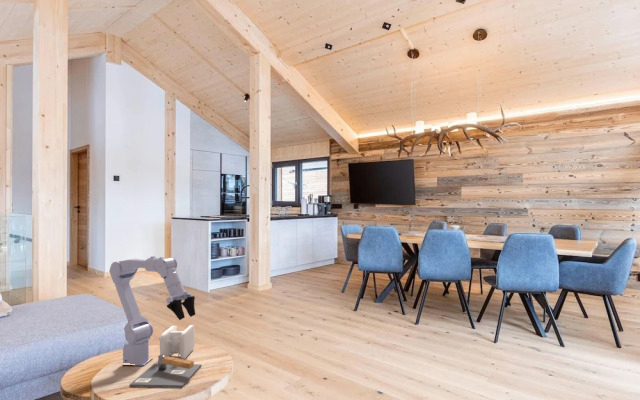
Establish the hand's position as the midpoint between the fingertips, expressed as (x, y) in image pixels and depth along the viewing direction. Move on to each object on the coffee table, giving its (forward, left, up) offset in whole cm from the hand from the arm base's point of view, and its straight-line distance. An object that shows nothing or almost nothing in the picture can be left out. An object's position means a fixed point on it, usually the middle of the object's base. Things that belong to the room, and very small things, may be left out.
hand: (187, 317), depth 149 cm
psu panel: (-8, -2, -22) cm, 24 cm away
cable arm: (-5, 0, -21) cm, 22 cm away
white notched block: (-13, +18, -23) cm, 32 cm away
